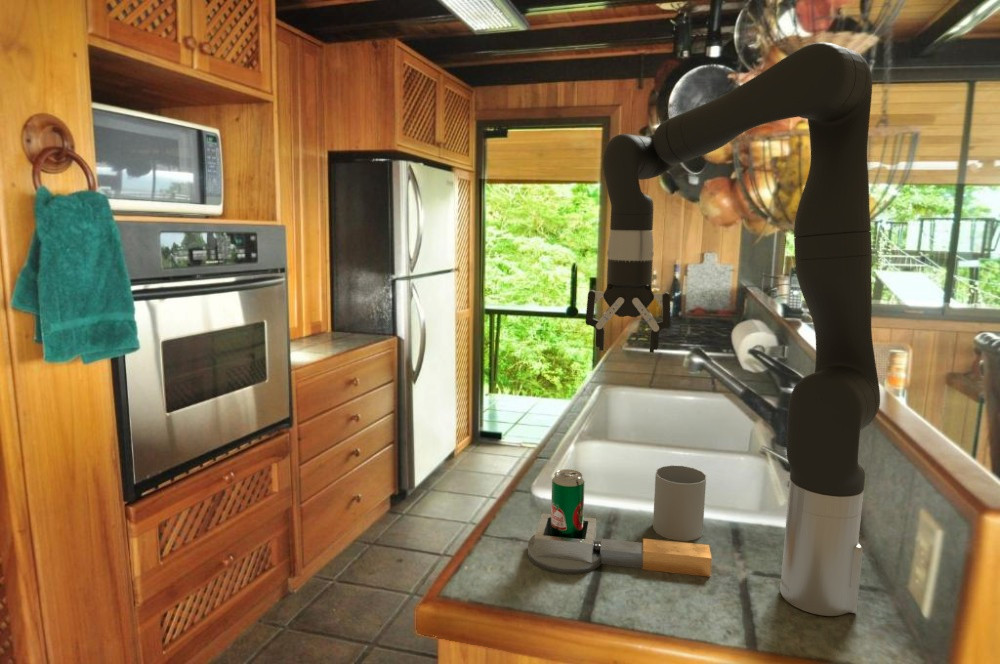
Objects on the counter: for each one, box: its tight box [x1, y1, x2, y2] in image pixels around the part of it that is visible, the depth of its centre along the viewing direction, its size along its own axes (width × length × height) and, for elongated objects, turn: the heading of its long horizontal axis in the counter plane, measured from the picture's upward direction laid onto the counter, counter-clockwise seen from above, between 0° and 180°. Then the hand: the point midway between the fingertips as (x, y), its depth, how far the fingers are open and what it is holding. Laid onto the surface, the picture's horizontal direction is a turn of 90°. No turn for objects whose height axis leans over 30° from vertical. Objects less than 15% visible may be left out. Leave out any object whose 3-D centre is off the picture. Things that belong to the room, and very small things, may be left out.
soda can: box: [550, 468, 585, 539], centre depth 107 cm, size 5×5×12 cm
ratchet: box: [527, 513, 713, 577], centre depth 107 cm, size 28×12×4 cm, turn 78°
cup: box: [652, 464, 707, 542], centre depth 117 cm, size 8×8×10 cm
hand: (626, 350), depth 118 cm, fingers open, 8 cm apart
